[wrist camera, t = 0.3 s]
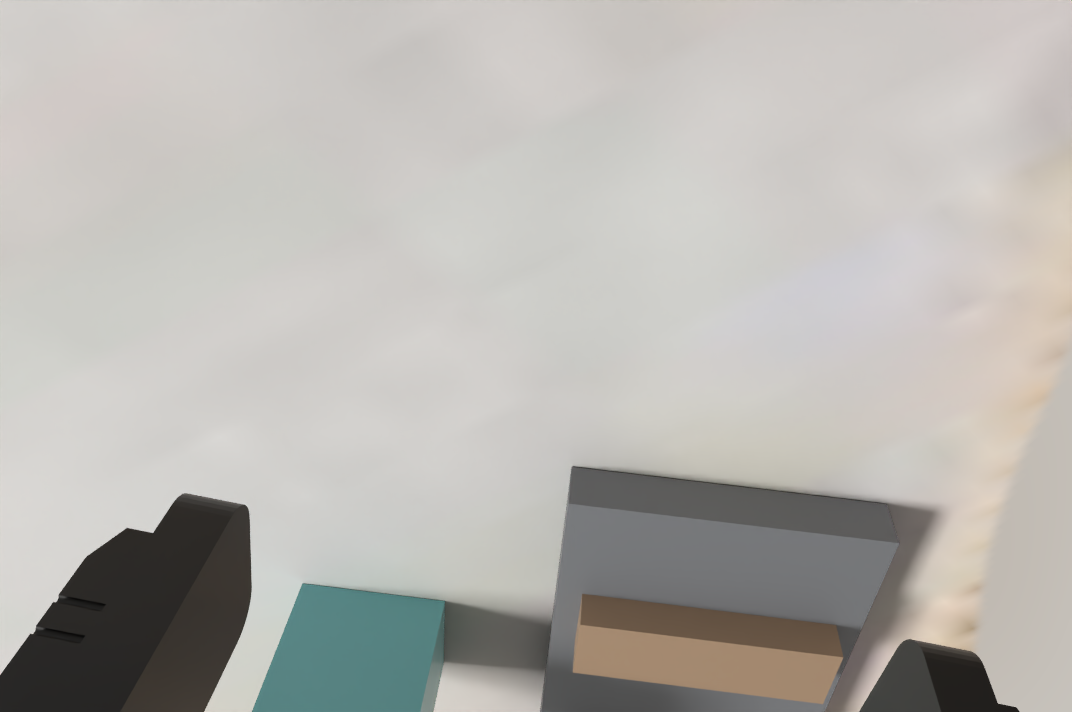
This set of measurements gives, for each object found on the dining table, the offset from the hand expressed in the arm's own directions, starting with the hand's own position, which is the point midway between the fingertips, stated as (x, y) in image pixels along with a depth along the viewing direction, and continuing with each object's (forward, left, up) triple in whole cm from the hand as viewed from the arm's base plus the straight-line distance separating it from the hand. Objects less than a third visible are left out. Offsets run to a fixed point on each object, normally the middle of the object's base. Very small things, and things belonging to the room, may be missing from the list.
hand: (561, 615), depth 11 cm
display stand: (+25, +6, -18) cm, 32 cm away
